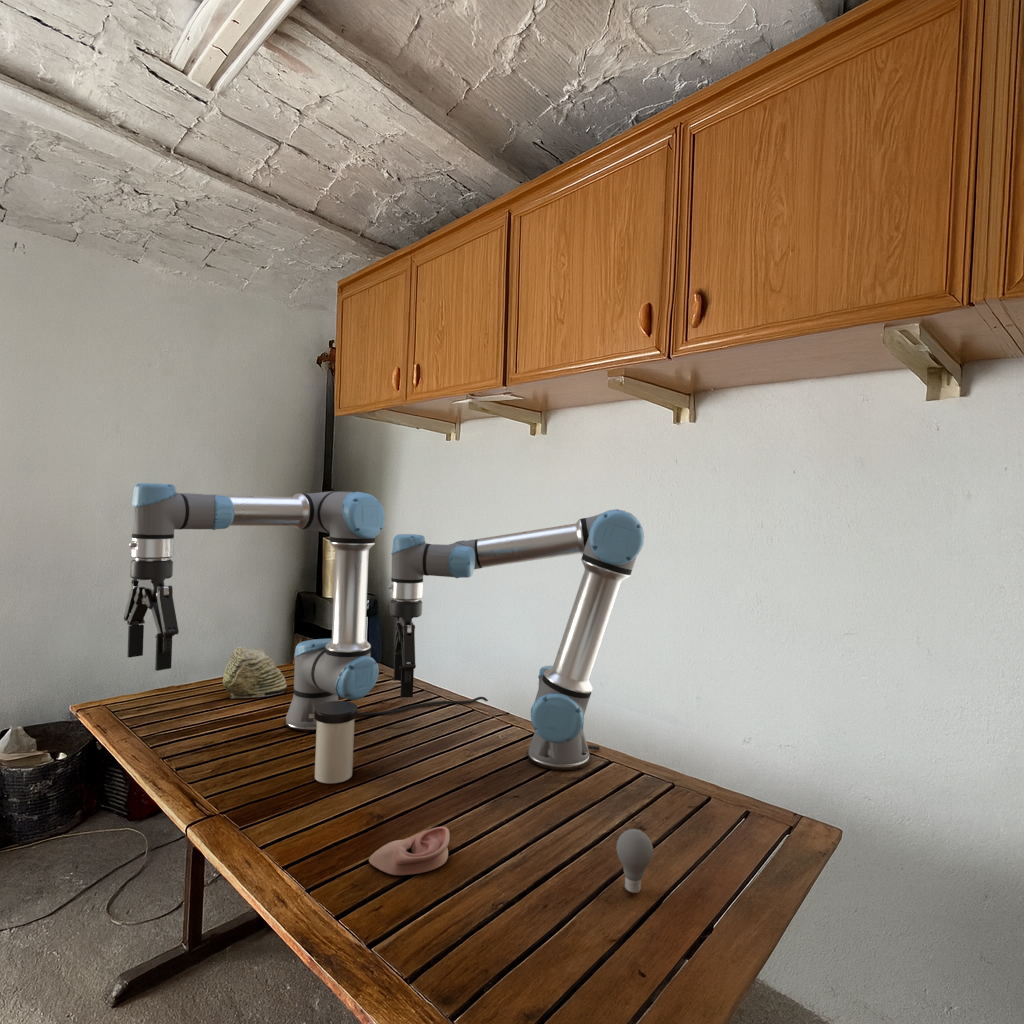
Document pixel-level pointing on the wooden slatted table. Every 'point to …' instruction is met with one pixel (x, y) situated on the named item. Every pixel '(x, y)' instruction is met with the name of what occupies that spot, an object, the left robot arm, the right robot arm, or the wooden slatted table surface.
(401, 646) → the right robot arm
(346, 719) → the lid
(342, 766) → the jar
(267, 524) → the left robot arm
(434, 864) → the anatomical model
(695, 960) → the wooden slatted table surface
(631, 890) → the light bulb
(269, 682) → the fossil
